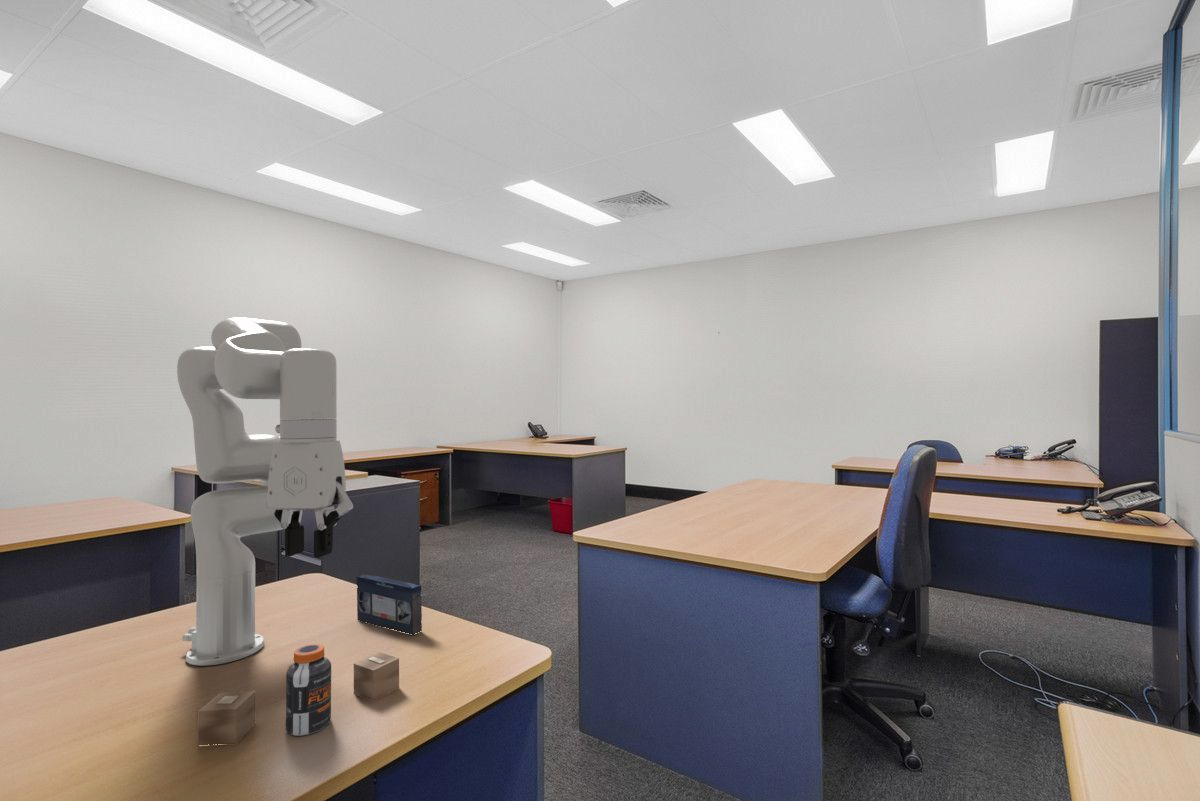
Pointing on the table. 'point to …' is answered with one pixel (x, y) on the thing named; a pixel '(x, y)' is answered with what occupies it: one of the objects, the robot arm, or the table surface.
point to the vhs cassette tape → (389, 603)
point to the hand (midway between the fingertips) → (308, 553)
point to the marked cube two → (376, 676)
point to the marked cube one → (226, 718)
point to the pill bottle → (308, 691)
